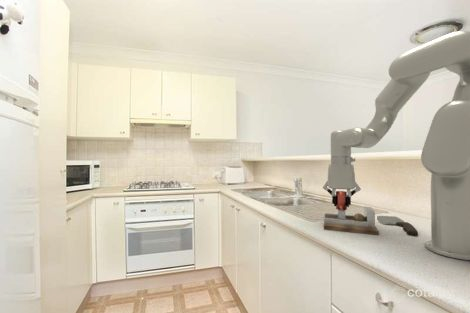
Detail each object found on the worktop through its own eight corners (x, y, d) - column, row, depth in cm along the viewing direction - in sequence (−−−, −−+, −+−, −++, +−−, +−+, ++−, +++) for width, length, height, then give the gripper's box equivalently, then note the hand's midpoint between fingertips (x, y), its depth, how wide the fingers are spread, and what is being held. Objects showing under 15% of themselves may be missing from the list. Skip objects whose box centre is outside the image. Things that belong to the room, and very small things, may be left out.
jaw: (346, 219, 95) (346, 190, 95) (347, 224, 88) (347, 193, 89) (336, 218, 96) (335, 190, 97) (336, 222, 90) (336, 192, 90)
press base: (371, 223, 95) (371, 220, 95) (378, 235, 80) (378, 230, 81) (324, 219, 102) (324, 216, 102) (323, 229, 87) (323, 225, 87)
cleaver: (426, 238, 78) (426, 232, 78) (393, 235, 81) (393, 229, 81) (396, 218, 106) (395, 214, 106) (372, 217, 109) (372, 212, 109)
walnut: (354, 222, 92) (365, 221, 91) (355, 225, 89) (366, 224, 87) (351, 213, 93) (362, 211, 91) (352, 215, 89) (364, 213, 88)
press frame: (370, 221, 93) (370, 206, 93) (375, 228, 83) (375, 212, 84) (324, 217, 100) (324, 203, 100) (324, 223, 90) (323, 208, 90)
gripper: (363, 161, 93) (363, 206, 93) (319, 161, 100) (319, 203, 99) (365, 161, 86) (366, 209, 86) (318, 161, 93) (318, 206, 92)
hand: (341, 205), depth 92 cm, fingers closed on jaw, 4 cm apart
